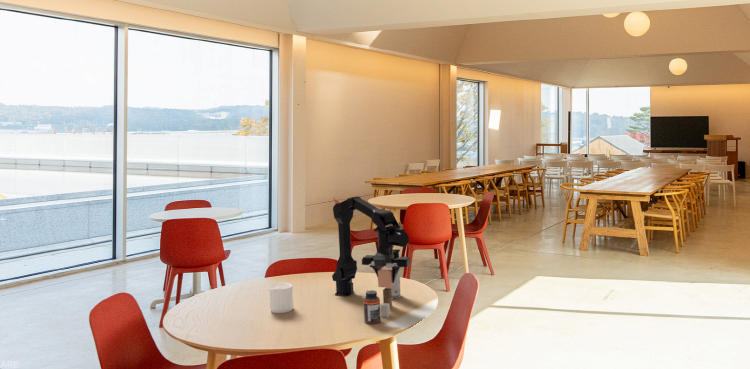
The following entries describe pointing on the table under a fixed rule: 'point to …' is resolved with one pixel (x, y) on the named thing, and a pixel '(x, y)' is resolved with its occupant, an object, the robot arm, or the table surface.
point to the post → (387, 296)
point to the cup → (281, 297)
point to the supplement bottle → (371, 307)
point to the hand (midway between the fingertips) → (386, 282)
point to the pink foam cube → (385, 277)
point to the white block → (385, 310)
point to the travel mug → (396, 288)
